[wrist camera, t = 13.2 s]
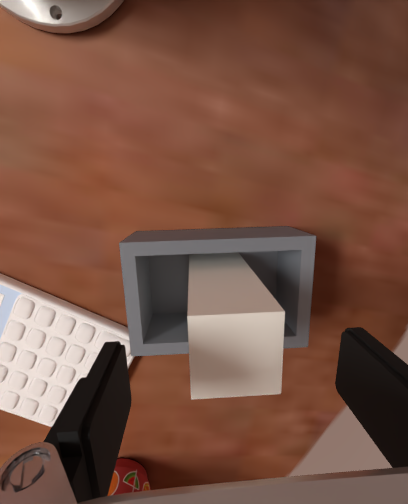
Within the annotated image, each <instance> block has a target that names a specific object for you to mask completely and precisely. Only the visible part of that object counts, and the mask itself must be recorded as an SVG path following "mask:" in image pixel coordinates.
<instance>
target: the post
mask: <svg viewBox="0 0 408 504" xmlns="http://www.w3.org/2000/svg"><path fill="white" fill-rule="evenodd" d="M187 320H188V341H189V362H190V384H191V399H206V398H223V397H239V396H255V395H271V394H281V383H282V362H283V342H284V321H285V311H284V310H283V308H282V307H281V306H280V304H279V303H278V302H277V301H276V299H275V298H274V297H273V296H272V294H271V293H270V292H269V291H268V289H267V288H266V287H265V286H264V284H263V283H262V282H261V280H260V279H259V278H258V277H257V275H256V274H255V273H254V272H253V270H252V269H251V268H250V267H249V265H248V264H247V263H246V262H245V260H244V259H243V258H242V256H241V255H240V254H239V253H238V252H234V253H208V254H189V282H188V311H187Z"/></svg>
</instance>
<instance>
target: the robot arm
mask: <svg viewBox="0 0 408 504" xmlns="http://www.w3.org/2000/svg"><path fill="white" fill-rule="evenodd" d="M123 1H124V0H0V7H2V8H3V9H4V10H5V11H7V12H8V13H9V14H11V15H12V16H13V17H15V18H16V19H18V20H19V21H21V22H23V23H25V24H27V25H30V26H32V27H34V28H36V29H40V30H44V31H48V32H51V33H73V32H79V31H84V30H86V29H89V28H91V27H94V26H96V25H98V24H100V23H101V22H102V21H104V20H105V19H107V18H108V17H109V16H111V15H112V14H113V13H114V11H115V10H116V9H117V8H118V7H119V6H120V5H121V4H122V2H123ZM335 385H336V389H337V391H338V393H339V394H340V396H341V397H342V399H343V400H344V401H345V403H346V404H347V405H348V407H349V408H350V410H351V411H352V412H353V414H354V415H355V416H356V418H357V419H358V421H359V422H360V423H361V424H362V426H363V427H364V429H365V430H366V432H367V433H368V434H369V436H370V437H371V438H372V440H373V441H374V443H375V444H376V445H377V447H378V448H379V450H380V451H381V452H382V454H383V455H384V456H385V458H386V459H387V460H388V462H389V463H390V465H391V466H392V467H393V468H387V469H374V470H363V471H350V472H339V473H326V474H315V475H304V476H292V477H281V478H270V479H259V480H248V481H237V482H227V483H216V484H206V485H195V486H185V487H174V488H166V489H157V490H148V491H140V492H131V493H123V494H118V495H112V496H108V492H109V488H110V484H111V481H112V477H113V473H114V469H115V465H116V461H117V458H118V454H119V450H120V446H121V442H122V438H123V434H124V431H125V427H126V423H127V419H128V415H129V411H130V407H131V391H130V382H129V374H128V366H127V357H126V349H125V345H121V343H120V342H119V341H114V342H105V343H104V345H103V347H102V348H101V350H100V352H99V354H98V356H97V358H96V360H95V362H94V363H93V365H92V367H91V369H90V371H89V373H88V375H87V377H83V378H80V379H79V381H78V382H77V384H76V385H75V387H74V389H73V391H72V392H71V394H70V396H69V398H68V400H67V401H66V403H65V405H64V407H63V408H62V410H61V412H60V414H59V416H58V417H57V419H56V421H55V423H54V424H53V426H52V428H51V430H50V431H49V433H48V435H47V437H46V439H45V440H44V442H39V443H35V444H31V445H29V446H27V447H25V448H23V449H21V450H20V451H18V452H17V453H15V454H14V455H13V456H11V457H10V458H9V459H8V460H7V461H6V462H5V463H4V464H3V466H2V467H1V468H0V504H408V365H407V364H406V363H405V362H404V361H402V360H401V359H400V358H399V357H397V356H396V355H395V354H394V353H393V352H391V351H390V350H389V349H388V348H386V347H385V346H384V345H383V344H382V343H380V342H379V341H378V340H377V339H375V338H374V337H373V336H372V335H370V334H369V333H368V332H367V331H366V330H364V329H363V328H361V327H357V328H347V329H346V330H345V332H343V333H342V335H341V343H340V351H339V359H338V366H337V374H336V382H335Z"/></svg>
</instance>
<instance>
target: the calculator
mask: <svg viewBox="0 0 408 504" xmlns="http://www.w3.org/2000/svg"><path fill="white" fill-rule="evenodd" d="M60 316H61V317H60ZM50 325H51V326H50ZM79 326H80V327H79ZM78 328H79V329H78ZM98 335H99V336H98ZM97 337H98V338H97ZM20 339H21V340H20ZM114 341H119V342H120V343H121V345H125V349H126V357H127V366H128V368H129V366H130V364H131V362H132V361H133V359H134V357H135V356H131V351H130V341H129V332H128V328H127V327H125V326H123V325H121V324H118V323H116V322H114V321H111V320H109V319H107V318H104V317H102V316H99V315H97V314H95V313H92V312H90V311H88V310H85V309H83V308H81V307H78V306H76V305H74V304H71V303H69V302H67V301H64V300H62V299H60V298H57V297H55V296H53V295H50V294H48V293H46V292H43V291H41V290H38V289H36V288H34V287H31V286H29V285H27V284H24V283H22V282H20V281H17V280H15V279H13V278H10V277H8V276H6V275H3V274H1V273H0V409H1V410H4V411H7V412H10V413H13V414H15V415H18V416H21V417H24V418H27V419H30V420H33V421H36V422H39V423H41V424H44V425H47V426H50V427H52V426H53V424H54V423H55V421H56V419H57V417H58V416H59V414H60V412H61V410H62V408H63V407H64V405H65V403H66V401H67V400H68V398H69V396H70V394H71V392H72V391H73V389H74V387H75V385H76V384H77V382H78V381H79V379H80V378H83V377H87V375H88V373H89V371H90V369H91V367H92V365H93V363H94V362H95V360H96V358H97V356H98V354H99V352H100V350H101V348H102V347H103V345H104V343H105V342H114ZM70 346H71V347H70ZM88 356H89V357H88ZM42 358H43V359H42ZM87 358H88V359H87ZM79 375H80V376H79ZM78 377H79V378H78ZM77 379H78V380H77ZM5 391H6V392H5ZM42 407H43V408H42Z"/></svg>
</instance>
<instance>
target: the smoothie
mask: <svg viewBox="0 0 408 504" xmlns="http://www.w3.org/2000/svg"><path fill="white" fill-rule="evenodd" d="M148 490H151V488H150V484H149V481H148V476H147V473H146V470H145V469H144V467H143V466H142V465H141V464H139V463H138V462H136V461H133V460H130V459H123V458H120V459H117V461H116V465H115V469H114V473H113V477H112V481H111V484H110V488H109V492H108V496H112V495H118V494H123V493H131V492H140V491H148Z"/></svg>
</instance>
